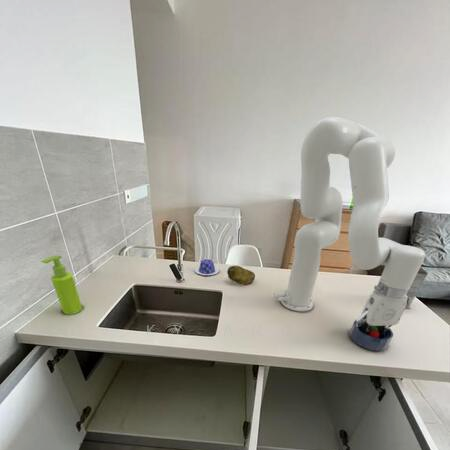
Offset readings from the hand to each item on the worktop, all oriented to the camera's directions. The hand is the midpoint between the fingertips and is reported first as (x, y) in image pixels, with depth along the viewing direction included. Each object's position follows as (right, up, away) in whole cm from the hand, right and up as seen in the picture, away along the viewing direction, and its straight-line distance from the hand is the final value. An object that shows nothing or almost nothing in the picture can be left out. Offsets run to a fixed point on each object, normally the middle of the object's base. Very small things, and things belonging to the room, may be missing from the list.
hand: (369, 337), depth 79 cm
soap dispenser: (-102, +9, +7) cm, 102 cm away
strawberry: (0, 0, 0) cm, 1 cm away
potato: (-40, +20, +32) cm, 55 cm away
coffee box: (+25, +11, +23) cm, 36 cm away
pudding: (-56, +26, +40) cm, 74 cm away
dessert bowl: (0, -1, +1) cm, 1 cm away
